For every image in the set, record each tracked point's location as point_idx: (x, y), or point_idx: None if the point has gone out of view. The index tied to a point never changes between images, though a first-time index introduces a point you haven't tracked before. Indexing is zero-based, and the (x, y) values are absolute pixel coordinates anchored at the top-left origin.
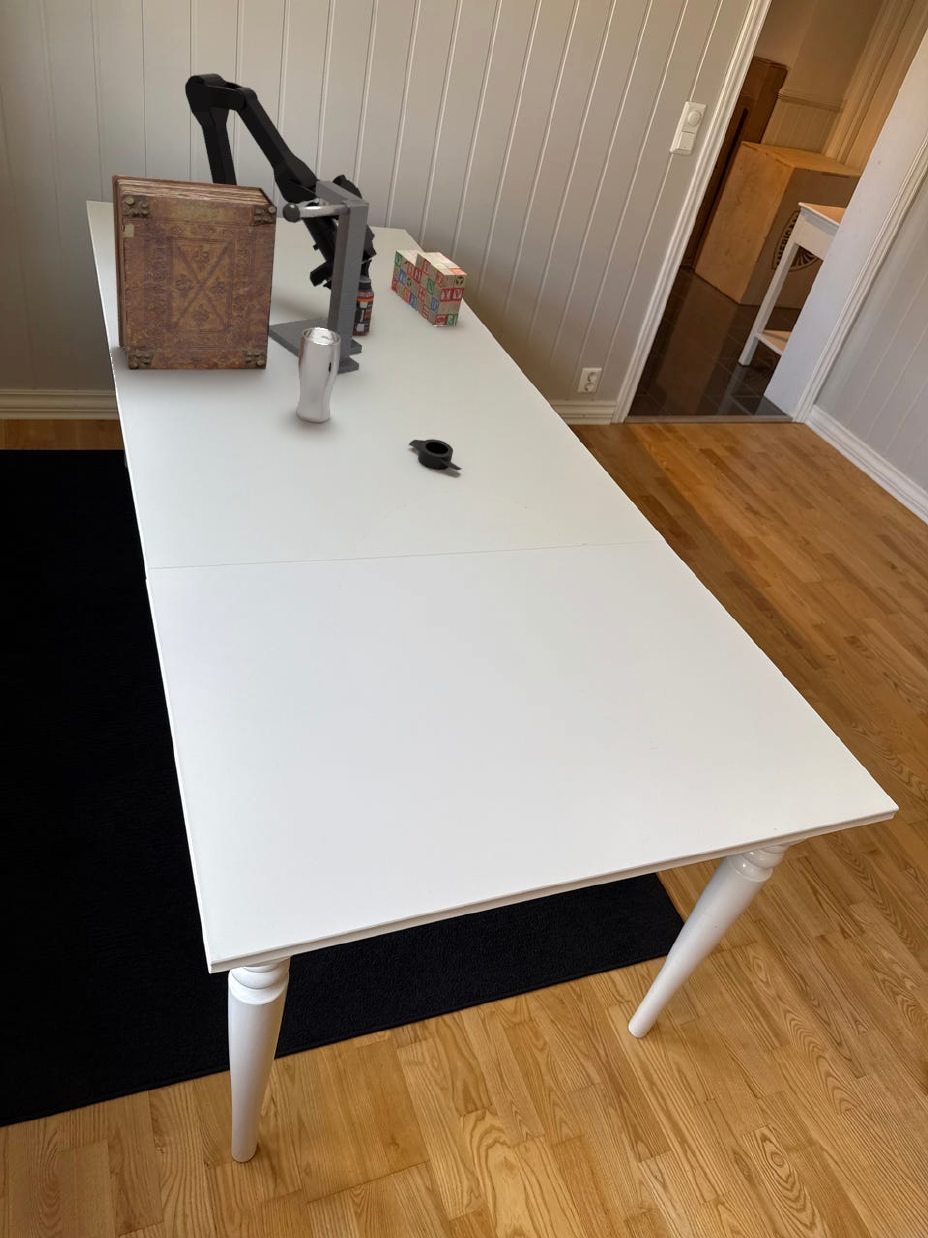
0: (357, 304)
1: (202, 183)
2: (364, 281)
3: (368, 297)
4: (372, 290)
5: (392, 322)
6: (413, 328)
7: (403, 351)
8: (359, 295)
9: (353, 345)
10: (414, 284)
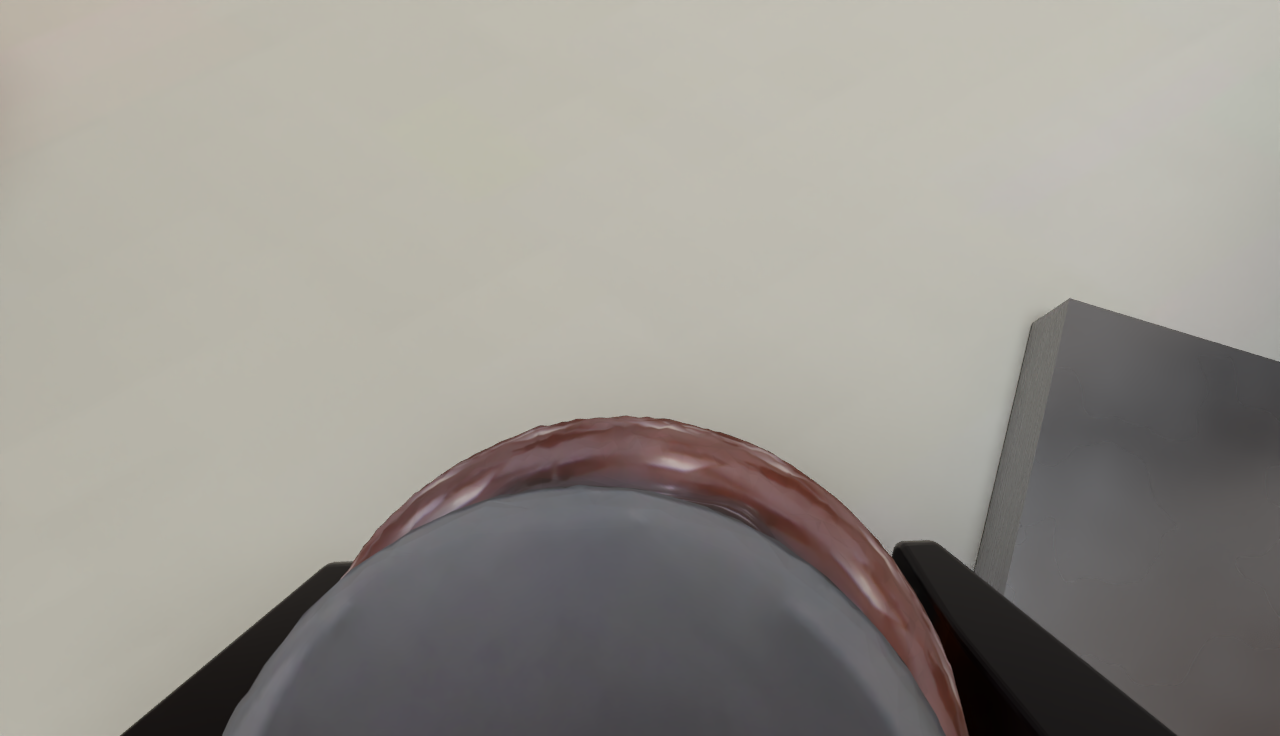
0: (952, 559)
1: None
2: (800, 627)
3: (738, 441)
4: (428, 516)
5: (155, 484)
6: (140, 281)
7: (669, 107)
8: (912, 598)
9: (1158, 356)
10: None
